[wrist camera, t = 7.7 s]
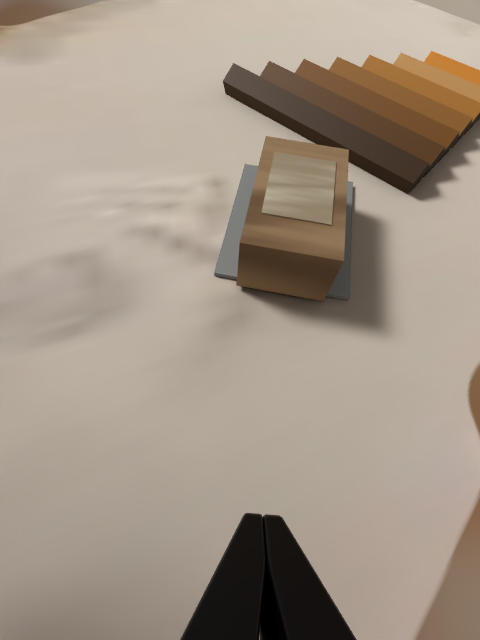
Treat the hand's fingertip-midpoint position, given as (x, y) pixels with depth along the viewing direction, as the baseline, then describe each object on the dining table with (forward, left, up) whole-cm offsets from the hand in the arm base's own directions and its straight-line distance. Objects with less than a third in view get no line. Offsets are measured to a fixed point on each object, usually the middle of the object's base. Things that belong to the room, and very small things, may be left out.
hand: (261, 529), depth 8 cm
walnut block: (+15, 0, -10) cm, 19 cm away
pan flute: (+47, -7, -14) cm, 50 cm away
